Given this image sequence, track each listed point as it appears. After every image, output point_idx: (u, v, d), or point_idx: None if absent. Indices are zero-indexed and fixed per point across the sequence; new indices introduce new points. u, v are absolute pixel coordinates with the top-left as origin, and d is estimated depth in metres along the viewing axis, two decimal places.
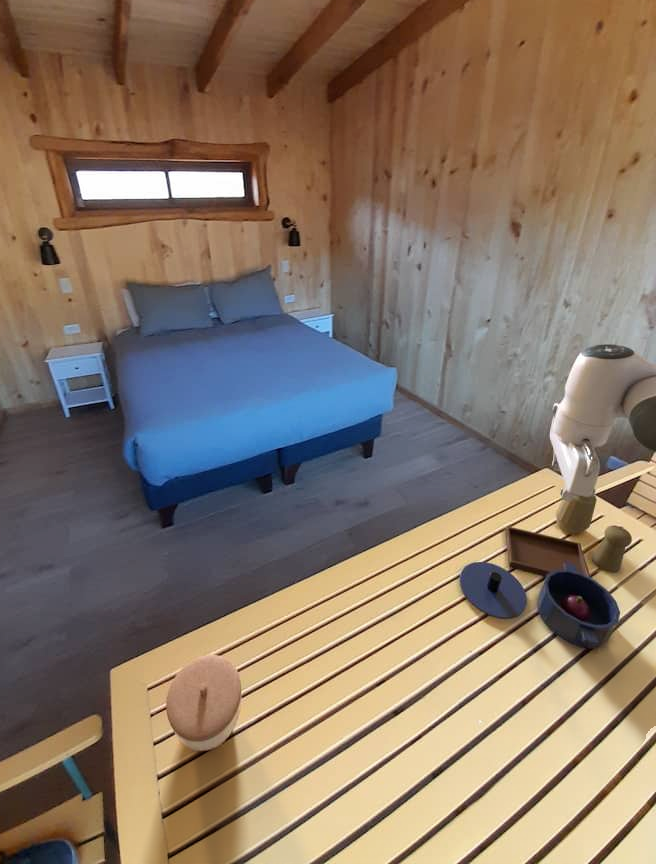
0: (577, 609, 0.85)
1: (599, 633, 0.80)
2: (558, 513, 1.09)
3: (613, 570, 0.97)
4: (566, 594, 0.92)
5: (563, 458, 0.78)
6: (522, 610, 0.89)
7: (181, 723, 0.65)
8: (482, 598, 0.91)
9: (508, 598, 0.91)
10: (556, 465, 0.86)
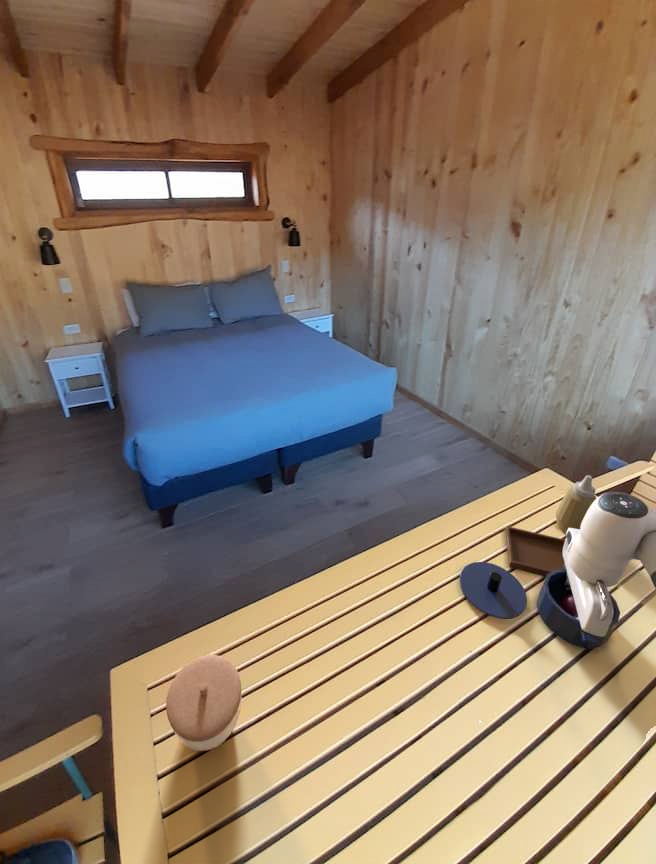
0: None
1: None
2: (558, 513, 1.09)
3: None
4: (566, 594, 0.92)
5: (577, 589, 0.82)
6: (522, 610, 0.89)
7: (181, 723, 0.65)
8: (482, 598, 0.91)
9: (508, 598, 0.91)
10: (569, 586, 0.89)
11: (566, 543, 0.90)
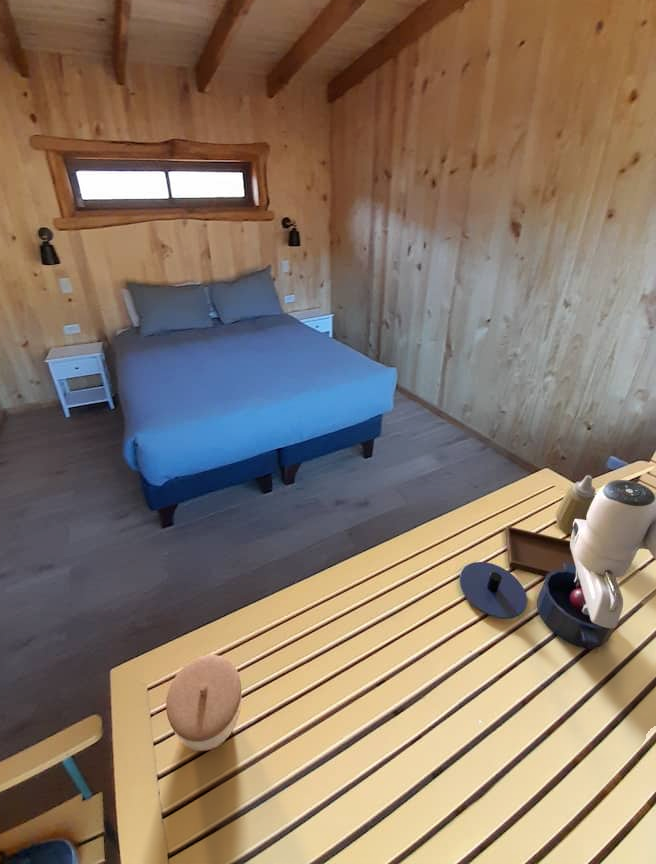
0: None
1: (599, 633, 0.80)
2: (558, 513, 1.09)
3: None
4: (566, 594, 0.92)
5: (585, 581, 0.80)
6: (522, 610, 0.89)
7: (181, 723, 0.65)
8: (482, 598, 0.91)
9: (508, 598, 0.91)
10: (578, 583, 0.87)
11: (573, 535, 0.89)
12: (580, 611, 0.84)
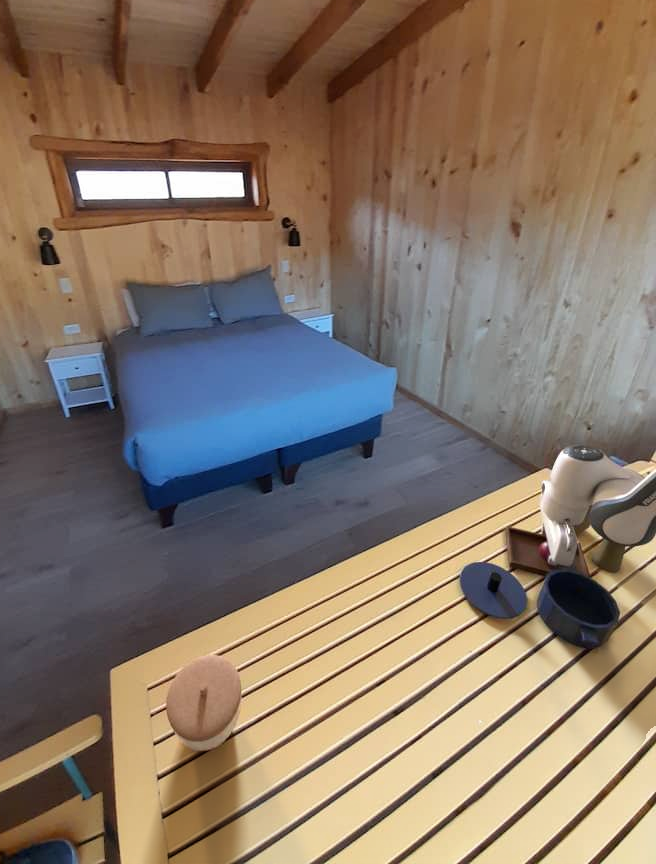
0: None
1: (599, 633, 0.80)
2: None
3: (613, 570, 0.97)
4: (566, 594, 0.92)
5: (549, 530, 0.96)
6: (522, 610, 0.89)
7: (181, 723, 0.65)
8: (482, 598, 0.91)
9: (508, 598, 0.91)
10: (544, 530, 1.03)
11: (542, 495, 1.04)
12: (546, 560, 0.99)
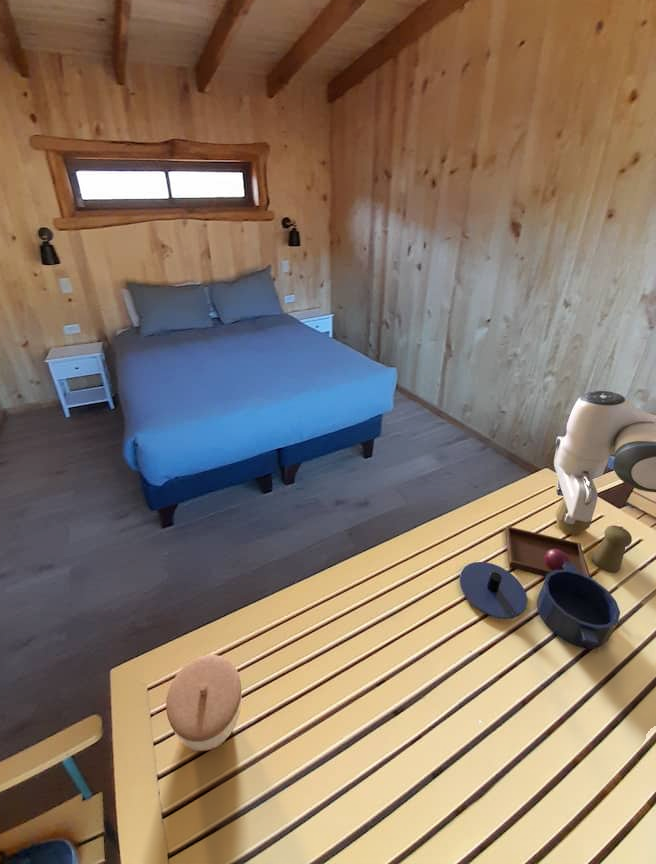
0: (556, 569, 0.96)
1: (599, 633, 0.80)
2: (558, 513, 1.09)
3: (613, 570, 0.97)
4: (566, 594, 0.92)
5: (566, 487, 0.89)
6: (522, 610, 0.89)
7: (181, 723, 0.65)
8: (482, 598, 0.91)
9: (508, 598, 0.91)
10: (559, 490, 0.97)
11: (556, 453, 0.98)
12: (547, 565, 0.98)
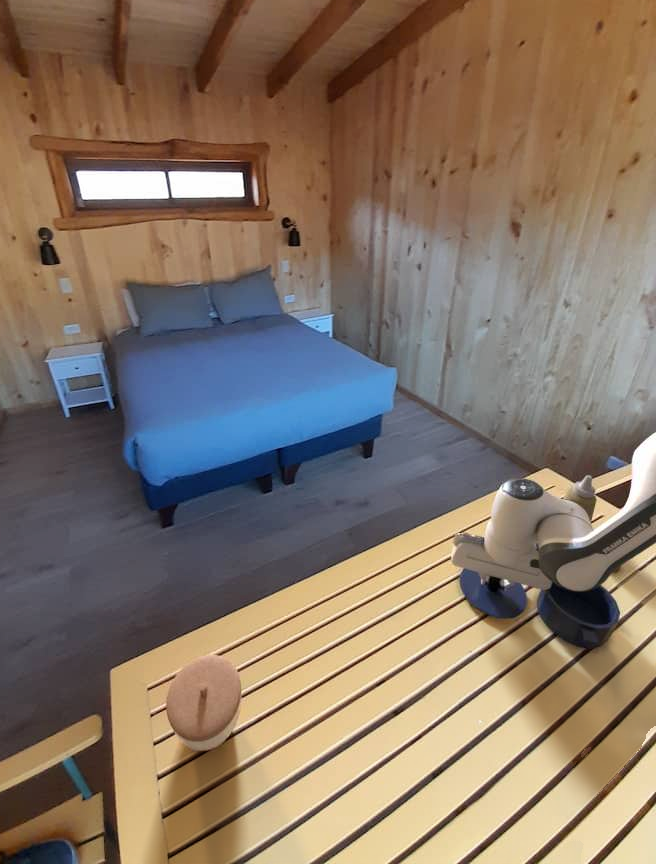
0: None
1: (599, 633, 0.80)
2: None
3: None
4: (566, 594, 0.92)
5: None
6: (522, 610, 0.89)
7: (181, 723, 0.65)
8: (482, 598, 0.91)
9: (508, 598, 0.91)
10: None
11: None
12: None
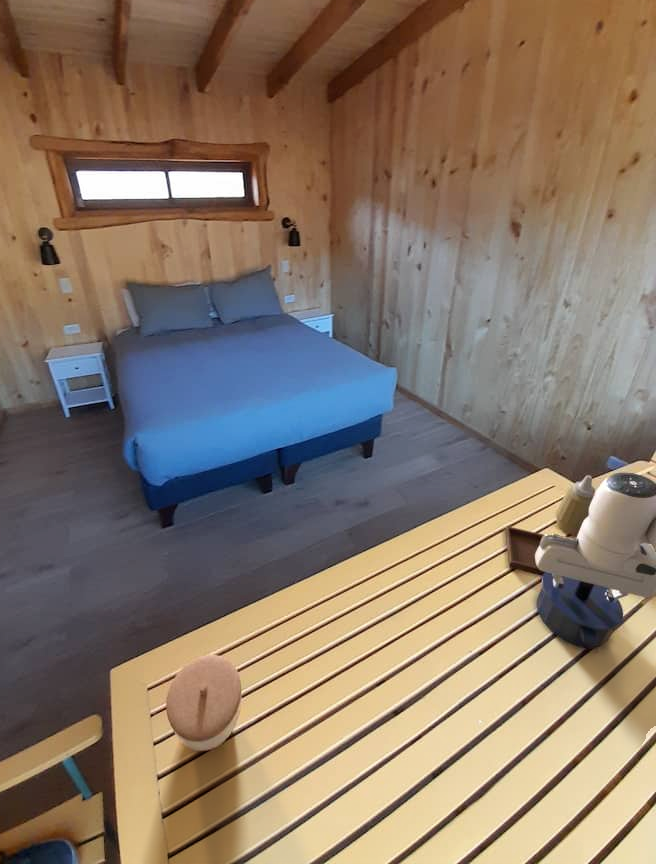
0: None
1: (599, 633, 0.80)
2: (558, 513, 1.09)
3: None
4: None
5: None
6: (619, 620, 0.80)
7: (181, 723, 0.65)
8: (572, 607, 0.82)
9: (601, 607, 0.82)
10: (607, 592, 0.83)
11: None
12: None
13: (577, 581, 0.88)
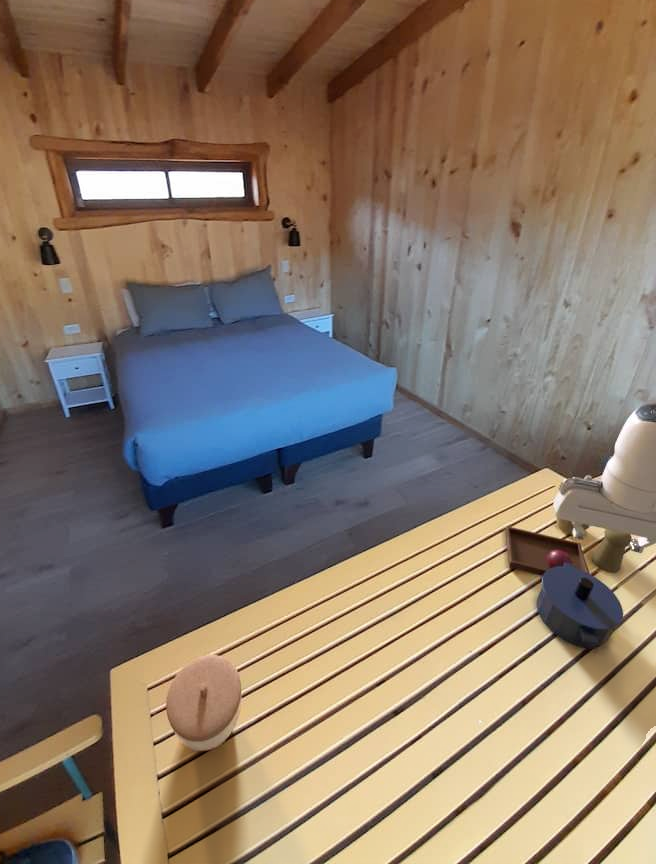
0: None
1: (599, 633, 0.80)
2: None
3: (613, 570, 0.97)
4: None
5: None
6: (619, 620, 0.80)
7: (181, 723, 0.65)
8: (572, 607, 0.82)
9: (601, 607, 0.82)
10: (632, 542, 0.76)
11: None
12: None
13: (577, 581, 0.88)
